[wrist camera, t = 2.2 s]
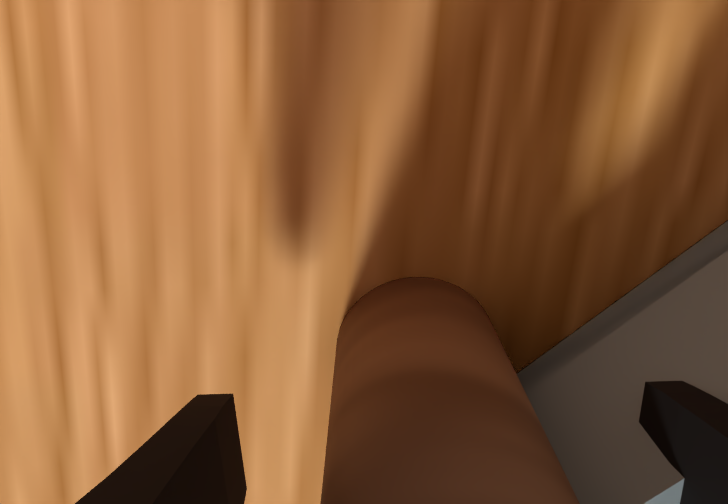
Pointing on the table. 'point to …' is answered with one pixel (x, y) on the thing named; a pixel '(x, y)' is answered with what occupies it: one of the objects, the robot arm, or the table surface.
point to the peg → (432, 407)
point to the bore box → (634, 376)
